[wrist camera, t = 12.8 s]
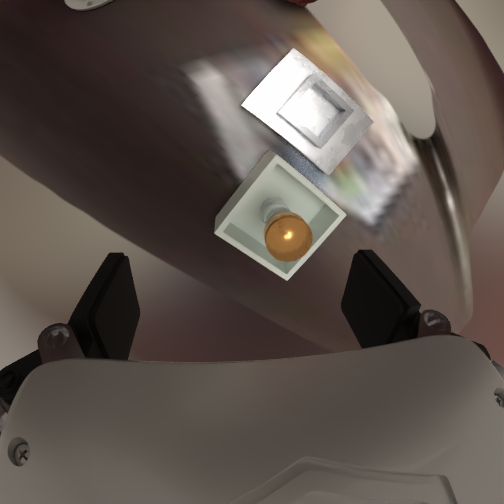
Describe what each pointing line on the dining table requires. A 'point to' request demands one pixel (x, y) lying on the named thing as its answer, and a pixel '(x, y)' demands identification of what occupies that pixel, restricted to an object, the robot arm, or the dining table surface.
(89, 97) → the dining table surface
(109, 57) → the dining table surface
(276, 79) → the white base with recess
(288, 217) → the copper-capped metal peg
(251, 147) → the dining table surface
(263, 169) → the bin
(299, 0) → the mechanical component
